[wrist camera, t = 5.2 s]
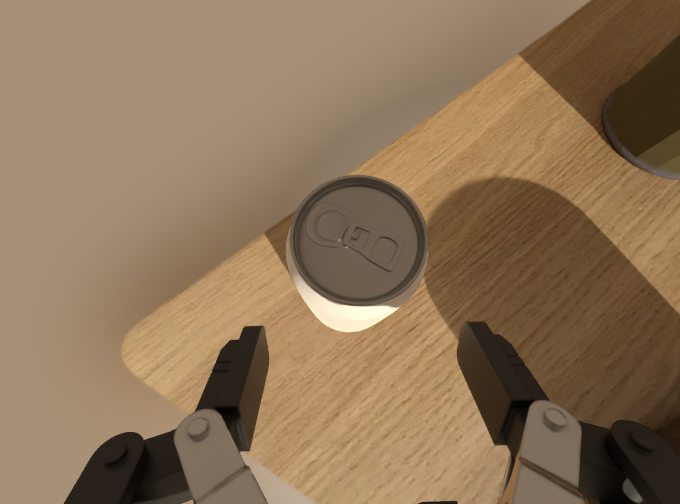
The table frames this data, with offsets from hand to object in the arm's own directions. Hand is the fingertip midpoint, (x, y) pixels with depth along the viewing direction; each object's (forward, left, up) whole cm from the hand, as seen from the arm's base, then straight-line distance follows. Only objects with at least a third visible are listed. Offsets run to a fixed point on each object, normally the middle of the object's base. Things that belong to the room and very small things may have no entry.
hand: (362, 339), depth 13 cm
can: (+4, +1, -11) cm, 12 cm away
